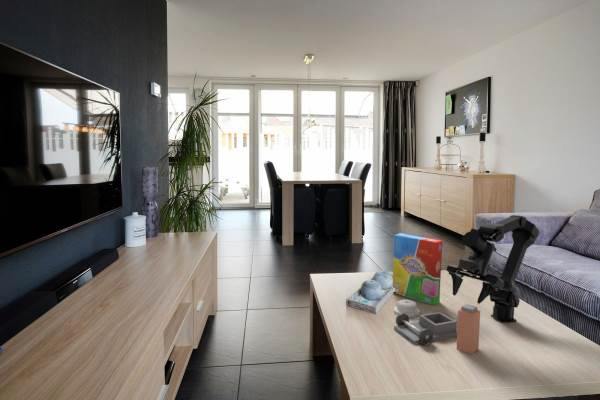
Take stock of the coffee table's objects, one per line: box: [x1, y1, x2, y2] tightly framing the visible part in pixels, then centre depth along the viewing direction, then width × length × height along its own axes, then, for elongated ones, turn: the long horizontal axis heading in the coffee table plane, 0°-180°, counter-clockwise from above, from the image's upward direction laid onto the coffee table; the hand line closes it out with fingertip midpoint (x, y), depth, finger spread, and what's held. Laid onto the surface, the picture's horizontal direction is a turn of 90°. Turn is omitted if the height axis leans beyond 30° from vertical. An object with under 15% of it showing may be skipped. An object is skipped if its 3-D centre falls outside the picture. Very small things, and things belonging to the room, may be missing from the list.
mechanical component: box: [393, 298, 421, 318], centre depth 156 cm, size 10×4×10 cm
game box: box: [392, 232, 444, 306], centre depth 171 cm, size 21×6×27 cm, turn 42°
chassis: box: [393, 311, 458, 345], centre depth 138 cm, size 22×15×5 cm
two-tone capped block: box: [456, 303, 481, 355], centre depth 126 cm, size 5×5×14 cm
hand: (465, 299), depth 134 cm, fingers open, 9 cm apart
